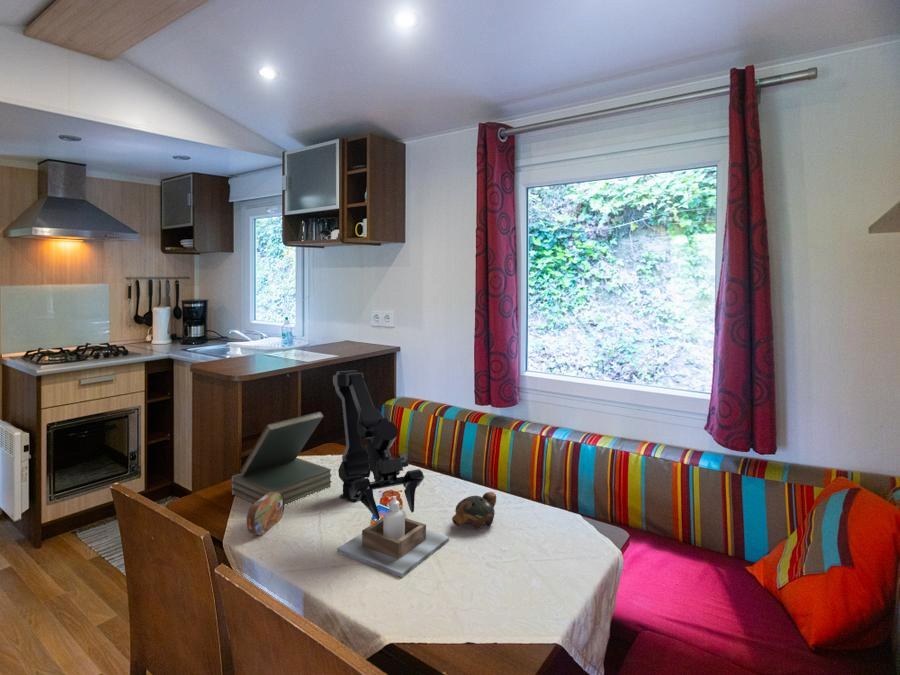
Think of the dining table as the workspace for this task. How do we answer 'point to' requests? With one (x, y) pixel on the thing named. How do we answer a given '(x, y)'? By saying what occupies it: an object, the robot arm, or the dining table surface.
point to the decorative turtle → (475, 510)
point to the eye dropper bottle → (394, 521)
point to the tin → (265, 513)
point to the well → (394, 547)
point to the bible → (282, 463)
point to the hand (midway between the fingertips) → (395, 515)
